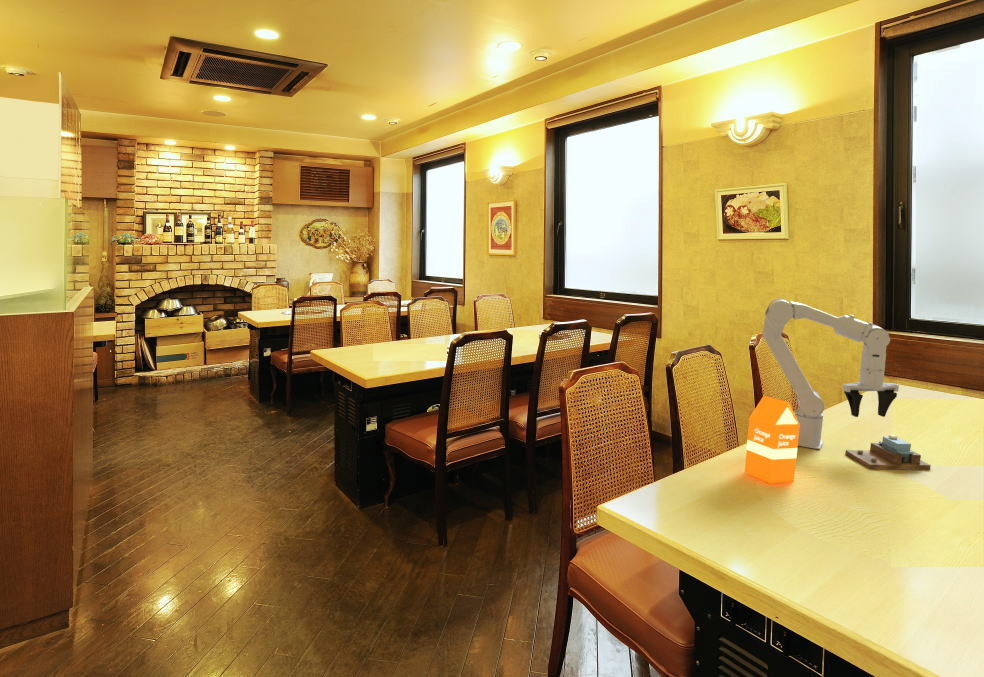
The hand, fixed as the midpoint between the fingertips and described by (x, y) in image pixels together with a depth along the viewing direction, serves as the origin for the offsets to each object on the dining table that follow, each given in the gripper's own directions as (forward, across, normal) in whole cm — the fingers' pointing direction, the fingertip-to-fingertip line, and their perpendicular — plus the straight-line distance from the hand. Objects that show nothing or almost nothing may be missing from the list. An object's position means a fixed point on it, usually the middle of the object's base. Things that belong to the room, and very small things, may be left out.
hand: (868, 415), depth 170 cm
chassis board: (+10, +1, -8) cm, 13 cm away
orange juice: (+10, -37, -20) cm, 43 cm away
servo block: (+9, +3, -8) cm, 13 cm away
